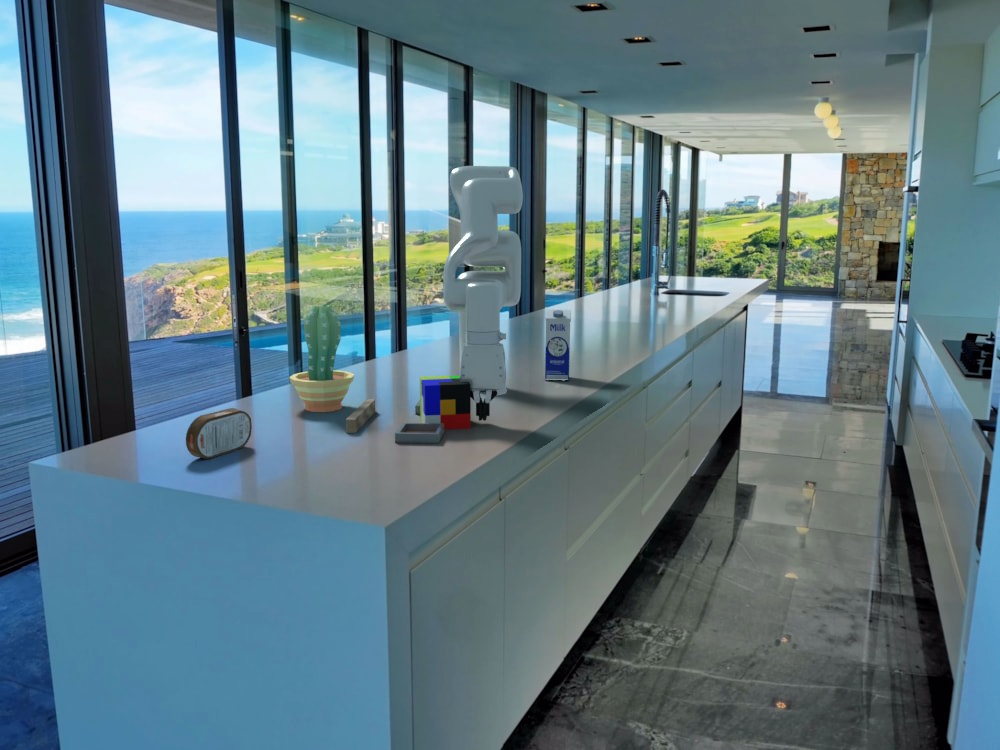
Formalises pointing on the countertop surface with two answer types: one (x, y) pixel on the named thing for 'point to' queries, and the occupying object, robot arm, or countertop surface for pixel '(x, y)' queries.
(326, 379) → the potted cactus
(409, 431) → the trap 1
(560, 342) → the milk carton
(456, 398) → the puzzle toy
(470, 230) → the robot arm
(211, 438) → the tin
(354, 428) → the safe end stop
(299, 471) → the countertop surface
